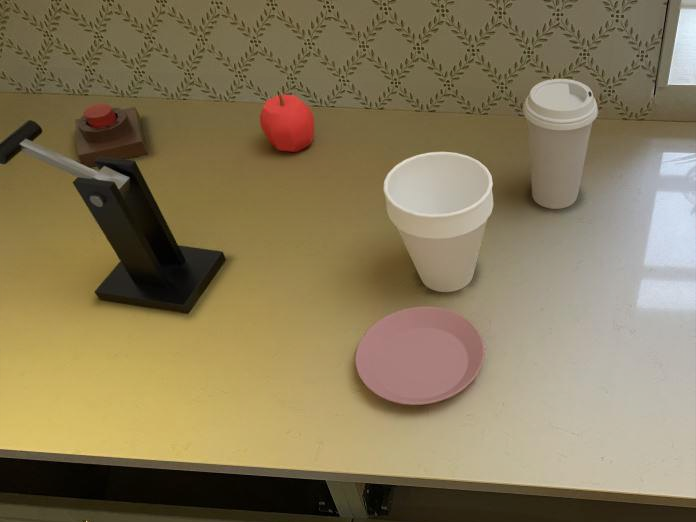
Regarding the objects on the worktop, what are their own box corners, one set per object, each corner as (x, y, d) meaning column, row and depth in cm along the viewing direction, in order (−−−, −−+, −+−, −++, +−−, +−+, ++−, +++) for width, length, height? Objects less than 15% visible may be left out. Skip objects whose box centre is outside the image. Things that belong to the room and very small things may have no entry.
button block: (81, 132, 104) (68, 108, 101) (141, 119, 106) (129, 95, 103) (85, 168, 98) (71, 144, 95) (147, 154, 100) (136, 130, 97)
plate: (382, 433, 68) (379, 422, 66) (343, 341, 76) (339, 329, 74) (505, 386, 71) (505, 375, 70) (456, 303, 80) (455, 291, 78)
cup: (477, 316, 78) (472, 225, 67) (383, 296, 80) (364, 204, 70) (506, 252, 85) (506, 160, 75) (419, 235, 88) (407, 143, 77)
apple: (299, 164, 98) (285, 114, 92) (257, 151, 100) (240, 102, 94) (329, 137, 103) (318, 88, 96) (288, 126, 105) (274, 77, 98)
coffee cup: (576, 222, 89) (586, 120, 77) (511, 206, 91) (512, 105, 80) (596, 183, 95) (608, 83, 83) (535, 169, 97) (538, 70, 85)
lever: (-9, 162, 68) (-13, 144, 66) (28, 131, 72) (24, 114, 70) (110, 215, 71) (108, 199, 69) (139, 183, 75) (139, 167, 73)
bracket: (99, 300, 80) (24, 192, 68) (143, 247, 86) (81, 139, 74) (188, 313, 79) (128, 205, 66) (226, 259, 85) (178, 151, 72)
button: (88, 118, 100) (82, 107, 98) (116, 112, 101) (110, 101, 99) (89, 130, 98) (83, 120, 96) (118, 124, 99) (112, 114, 97)
